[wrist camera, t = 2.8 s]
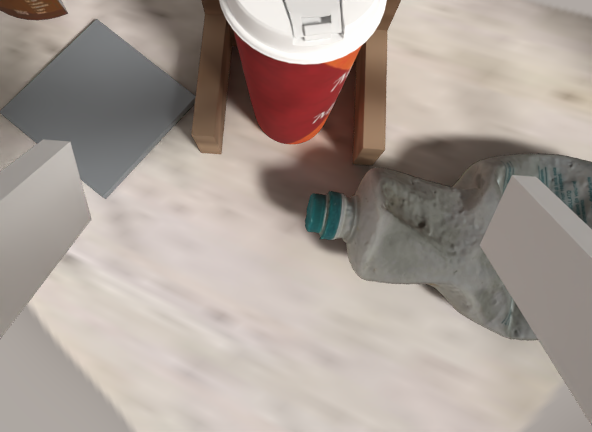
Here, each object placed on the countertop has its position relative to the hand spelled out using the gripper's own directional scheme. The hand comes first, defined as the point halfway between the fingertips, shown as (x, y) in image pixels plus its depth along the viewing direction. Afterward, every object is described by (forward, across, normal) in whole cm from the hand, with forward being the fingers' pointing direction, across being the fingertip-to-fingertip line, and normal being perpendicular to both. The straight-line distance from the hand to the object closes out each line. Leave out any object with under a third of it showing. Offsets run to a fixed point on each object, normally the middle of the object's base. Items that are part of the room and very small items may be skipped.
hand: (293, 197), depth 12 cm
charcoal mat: (+18, -14, -5) cm, 24 cm away
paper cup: (+19, 0, -4) cm, 20 cm away
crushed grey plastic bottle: (+13, +14, -11) cm, 22 cm away
